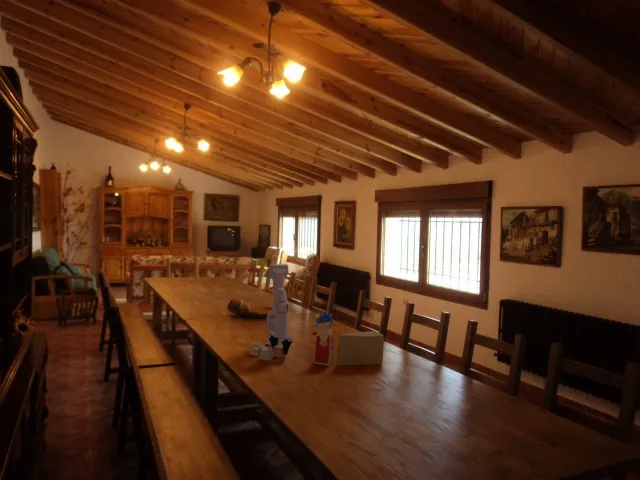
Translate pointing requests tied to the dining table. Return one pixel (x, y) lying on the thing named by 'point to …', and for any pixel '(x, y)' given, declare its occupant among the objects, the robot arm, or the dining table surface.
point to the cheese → (360, 349)
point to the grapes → (324, 318)
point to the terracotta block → (278, 351)
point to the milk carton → (324, 345)
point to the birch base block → (255, 349)
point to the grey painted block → (266, 353)
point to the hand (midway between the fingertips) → (280, 352)
